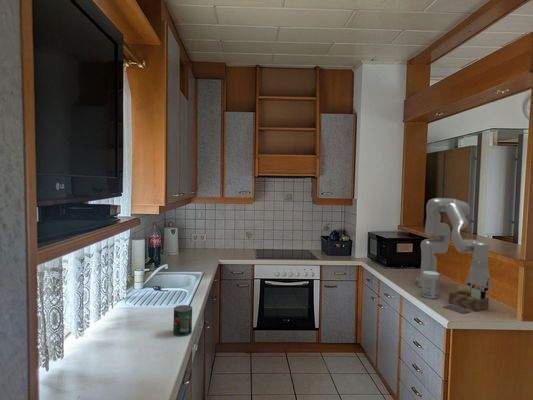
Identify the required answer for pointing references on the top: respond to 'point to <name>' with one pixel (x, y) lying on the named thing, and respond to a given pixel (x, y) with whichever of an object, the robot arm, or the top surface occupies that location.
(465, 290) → the t bolt
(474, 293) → the cover
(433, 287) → the supplement tub
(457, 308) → the mat
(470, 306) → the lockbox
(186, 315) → the canned tomato
